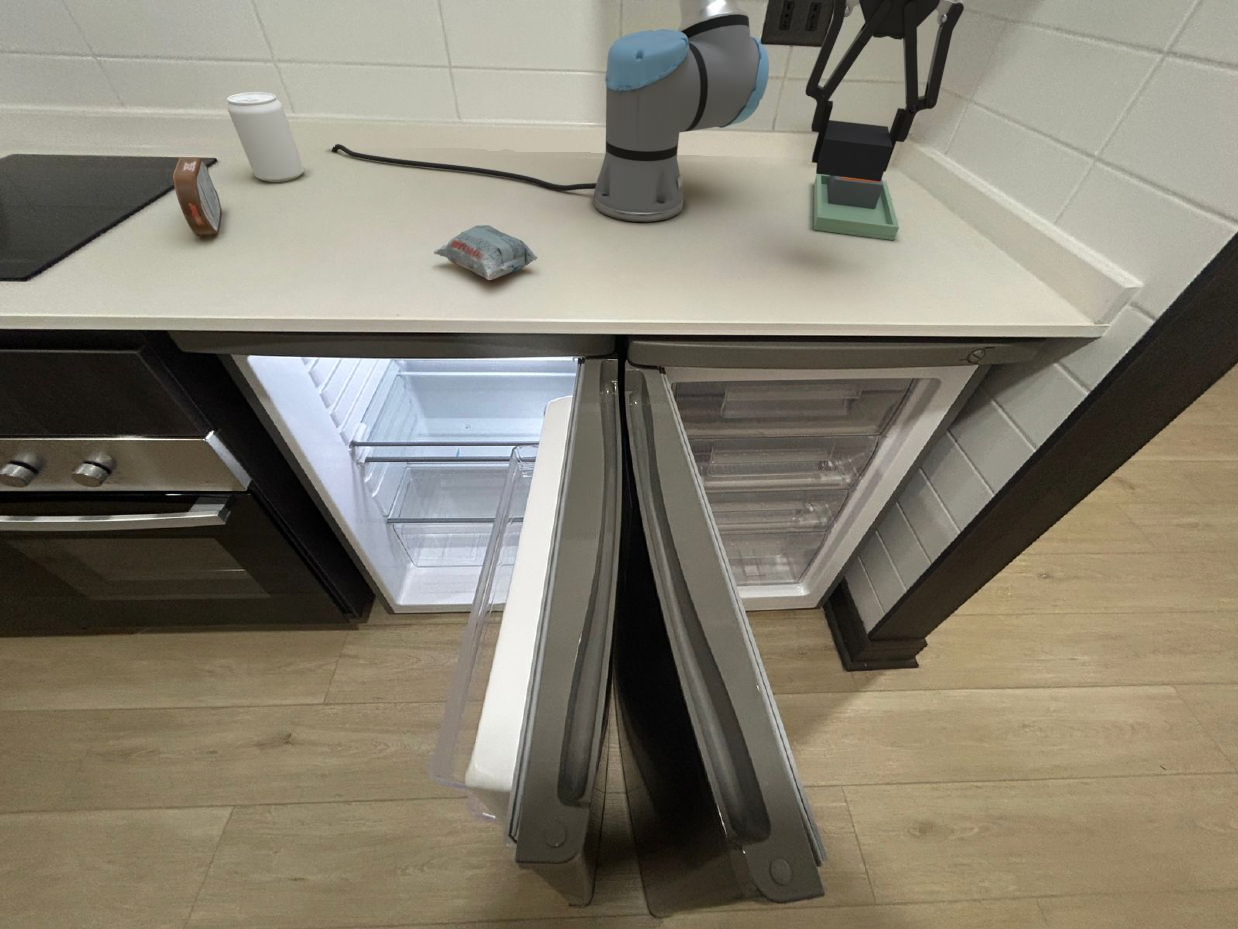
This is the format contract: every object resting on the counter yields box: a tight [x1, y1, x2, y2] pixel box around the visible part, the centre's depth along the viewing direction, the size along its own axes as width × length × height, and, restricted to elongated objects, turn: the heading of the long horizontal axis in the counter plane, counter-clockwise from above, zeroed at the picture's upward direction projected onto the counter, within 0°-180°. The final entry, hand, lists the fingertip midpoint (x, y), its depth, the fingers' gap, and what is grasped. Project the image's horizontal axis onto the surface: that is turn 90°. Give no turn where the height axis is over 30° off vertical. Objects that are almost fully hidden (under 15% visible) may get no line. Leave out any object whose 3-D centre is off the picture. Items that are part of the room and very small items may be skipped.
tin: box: [172, 156, 222, 237], centre depth 81 cm, size 15×3×8 cm, turn 23°
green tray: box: [813, 174, 900, 241], centre depth 96 cm, size 22×13×2 cm, turn 166°
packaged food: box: [433, 224, 538, 281], centre depth 75 cm, size 9×12×5 cm
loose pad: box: [815, 119, 893, 182], centre depth 72 cm, size 8×10×4 cm
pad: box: [827, 175, 884, 209], centre depth 98 cm, size 8×10×4 cm
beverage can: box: [226, 91, 305, 183], centre depth 95 cm, size 8×8×12 cm
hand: (848, 163), depth 73 cm, fingers closed on loose pad, 8 cm apart
